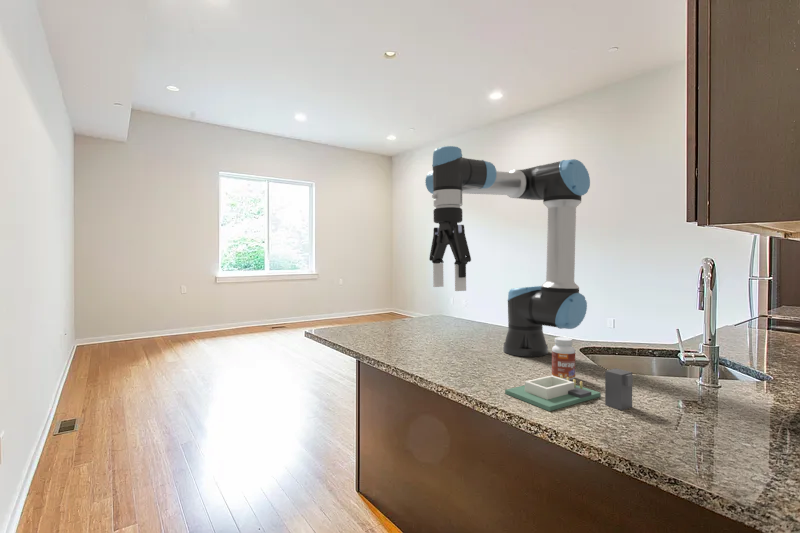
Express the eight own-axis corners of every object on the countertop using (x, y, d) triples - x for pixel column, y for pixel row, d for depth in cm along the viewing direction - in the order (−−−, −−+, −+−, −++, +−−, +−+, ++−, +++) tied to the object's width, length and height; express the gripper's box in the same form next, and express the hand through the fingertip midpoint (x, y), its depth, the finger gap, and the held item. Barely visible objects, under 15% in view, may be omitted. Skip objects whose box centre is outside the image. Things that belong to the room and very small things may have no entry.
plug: (615, 401, 101) (615, 368, 101) (635, 407, 97) (635, 373, 97) (605, 404, 99) (605, 370, 99) (624, 411, 95) (624, 375, 95)
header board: (554, 381, 117) (554, 369, 117) (600, 396, 105) (600, 382, 105) (505, 393, 108) (505, 379, 108) (549, 411, 96) (549, 395, 96)
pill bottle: (557, 381, 118) (556, 341, 117) (548, 374, 124) (548, 336, 123) (579, 380, 118) (579, 340, 117) (569, 374, 124) (569, 336, 124)
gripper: (417, 211, 122) (418, 285, 123) (455, 202, 99) (457, 293, 100) (441, 212, 125) (442, 284, 126) (484, 202, 101) (485, 292, 102)
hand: (448, 288), depth 113 cm, fingers open, 13 cm apart
